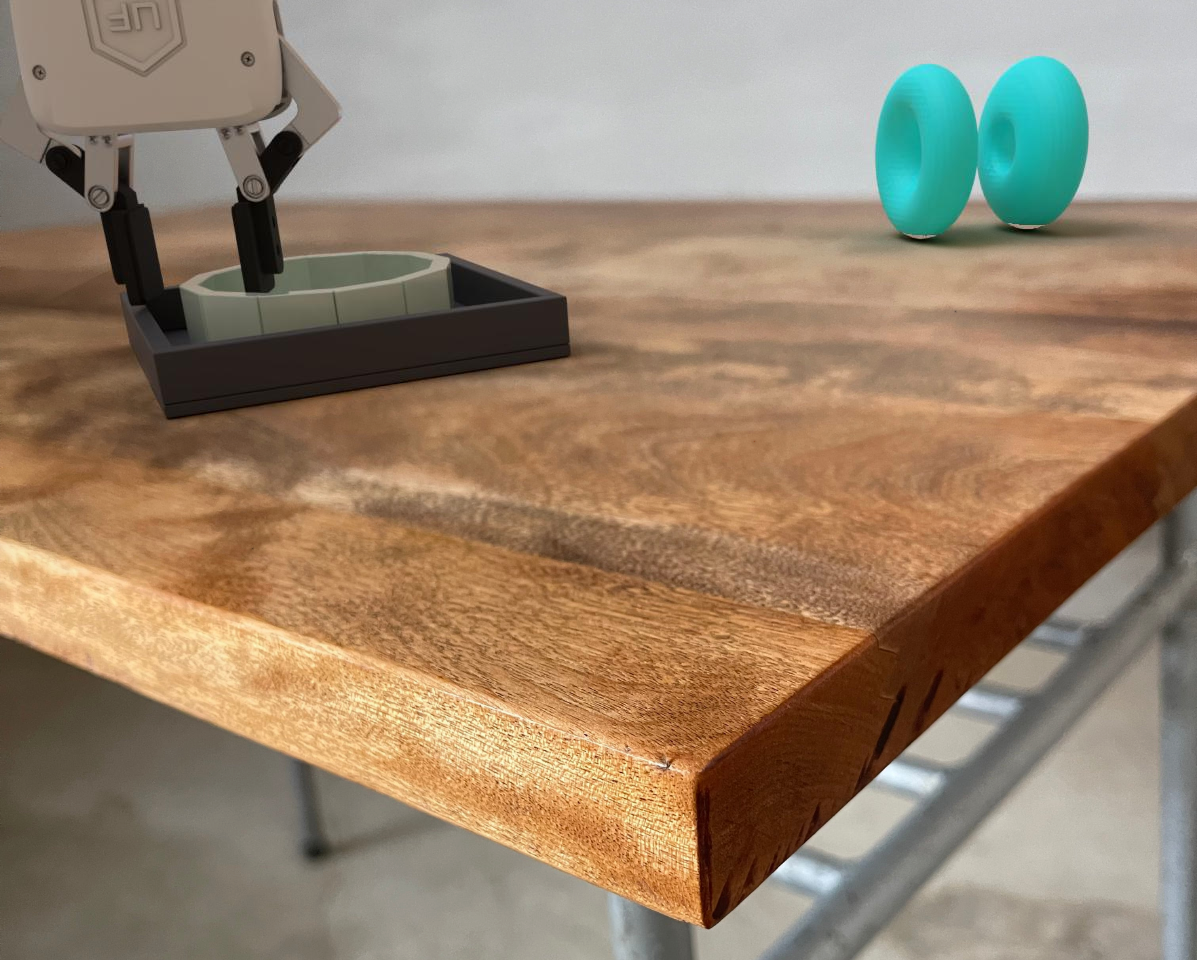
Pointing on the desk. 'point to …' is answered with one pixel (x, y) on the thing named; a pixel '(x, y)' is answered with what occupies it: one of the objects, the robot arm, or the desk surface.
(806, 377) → the desk surface
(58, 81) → the robot arm
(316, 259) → the segmented polygonal ring
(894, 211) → the donuts
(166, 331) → the tray
